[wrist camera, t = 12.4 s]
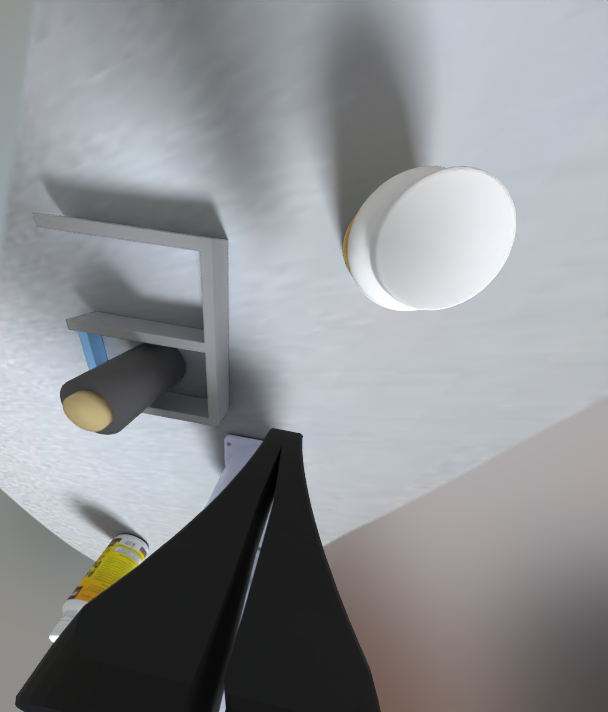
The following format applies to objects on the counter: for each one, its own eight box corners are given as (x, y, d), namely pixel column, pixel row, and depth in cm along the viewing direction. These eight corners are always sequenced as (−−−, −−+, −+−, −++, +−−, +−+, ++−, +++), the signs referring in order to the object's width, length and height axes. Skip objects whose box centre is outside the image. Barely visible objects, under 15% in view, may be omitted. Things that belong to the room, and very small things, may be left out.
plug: (187, 386, 23) (124, 446, 16) (143, 377, 23) (61, 433, 16) (183, 343, 21) (110, 391, 14) (135, 335, 21) (40, 378, 14)
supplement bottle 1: (119, 527, 35) (42, 627, 26) (154, 542, 36) (92, 646, 27) (112, 543, 37) (39, 640, 28) (145, 557, 38) (85, 657, 29)
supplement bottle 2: (328, 265, 17) (322, 288, 8) (369, 181, 15) (422, 85, 6) (394, 300, 17) (455, 356, 9) (444, 223, 15) (597, 193, 6)
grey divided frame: (229, 409, 23) (217, 426, 21) (106, 387, 24) (83, 401, 22) (227, 239, 17) (211, 238, 15) (61, 215, 18) (20, 211, 15)
